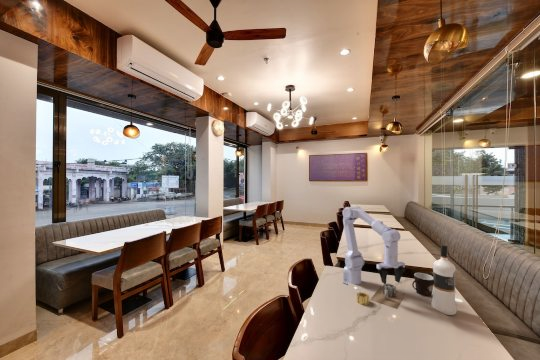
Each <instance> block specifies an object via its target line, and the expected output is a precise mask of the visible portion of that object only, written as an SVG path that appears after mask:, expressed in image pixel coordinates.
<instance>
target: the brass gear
mask: <svg viewBox="0 0 540 360" xmlns="http://www.w3.org/2000/svg"><path fill="white" fill-rule="evenodd" d="M356 302H357V303H358V304H360V305H362V306H367V305H369V304H370V295H369V294H368V293H366V292H361V291H360V292H357V293H356Z"/></svg>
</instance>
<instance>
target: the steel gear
mask: <svg viewBox="0 0 540 360" xmlns="http://www.w3.org/2000/svg"><path fill="white" fill-rule="evenodd" d="M382 285H383V286H382V287H383V294H385V290H388V297H395V296H396V291H397V287H396V286H395V285H394V284H392V283H387V282H386V284H384V283H383V284H382ZM388 286H391V287H388Z"/></svg>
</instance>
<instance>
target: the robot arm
mask: <svg viewBox="0 0 540 360" xmlns="http://www.w3.org/2000/svg"><path fill="white" fill-rule="evenodd" d="M341 212H342V216H343V217H342V218H343V219H342V223H343V229H344V235H345V241H346V247H347V252H346V253H345V255H344V257H345V258H344V263H345V264H344V265H345V266H344V268H343V271H342V273H343V274H342V275H343V276H342V277H343V279H342V280H343V281H342V284H345V285H349V283H350V284H352V285H361V284H362V268H363V266H364V265H365V259H364V257H363V254H362V253H361V252H360V251H359V250H358V249H359V248H358V243H357V238H356V237H357V236H356V233H355V227H354V223H355V221H356V220H358V219H361V220H362V221H363V222H365V223H367V224H368V225H370V226H371V229H372V230H373V231H374V232H375V233H377V234H378V235H380V237H381V239H382V240H383V245H384V253H383V254H384V256H383V257H384V260H383V262H380V263H376V270H377V272H378V274H379V275H380V281H381V283H383V285H384V284H387V278H388V277H387V276H388V274H389V271H388V270H387V269H392V268H393V270H394V281H395V282H397V283H400V282H401V278H402V276H403V274H404V273H405V271H406V269H405V267H406V263H405V262H404V261H399V259H398V255H399V253H398V252H399V251H398V249H399V243H398V242H399V241H400V239H401V233H400V232H399V231H398V230H397V229H395V228H393V229H392V228H391V227H390V226H388V225H387V224H385V223H384V221H383V220H375V219H374V218H373V217H372V216H370V214H369V213H367V212H366V211H365V209H363V208H362V207H361V206H359V205H356V206H346V207H344V209H343V210H342V211H341Z"/></svg>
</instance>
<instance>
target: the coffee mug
mask: <svg viewBox="0 0 540 360" xmlns="http://www.w3.org/2000/svg"><path fill="white" fill-rule="evenodd" d="M413 275H414V280H413V282H412V283H411V285H412V288H413V289H414V290H415V292H416V294H417V295H420V296H422V297H427V298H428V297H433V276H432V275H430V274H428V273H424V272H415V273H414V274H413ZM414 285H415V286H414Z"/></svg>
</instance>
